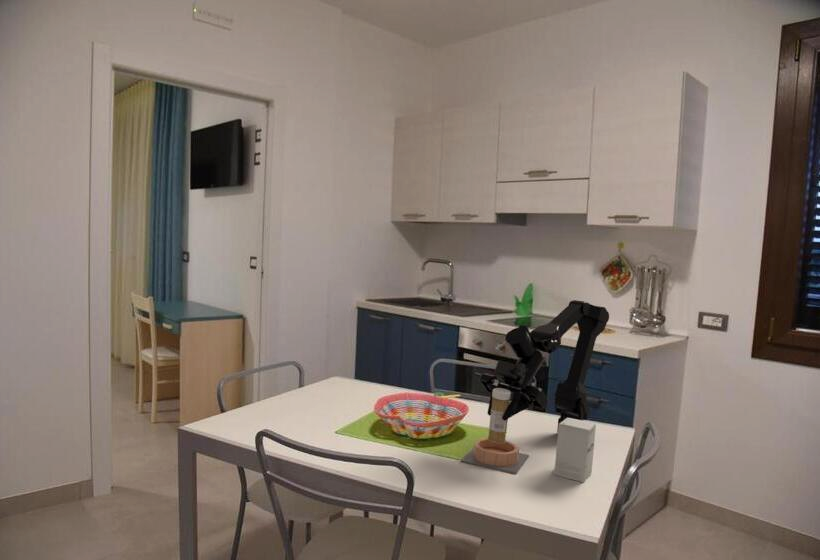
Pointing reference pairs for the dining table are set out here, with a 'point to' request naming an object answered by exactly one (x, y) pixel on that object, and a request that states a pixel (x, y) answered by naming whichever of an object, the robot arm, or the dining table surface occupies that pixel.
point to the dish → (496, 456)
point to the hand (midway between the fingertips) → (495, 417)
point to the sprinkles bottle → (498, 416)
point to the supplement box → (575, 449)
